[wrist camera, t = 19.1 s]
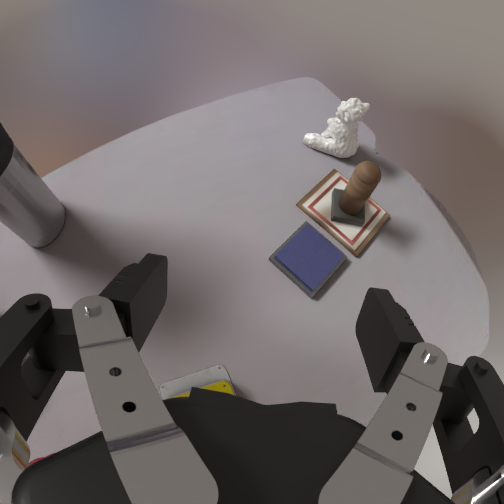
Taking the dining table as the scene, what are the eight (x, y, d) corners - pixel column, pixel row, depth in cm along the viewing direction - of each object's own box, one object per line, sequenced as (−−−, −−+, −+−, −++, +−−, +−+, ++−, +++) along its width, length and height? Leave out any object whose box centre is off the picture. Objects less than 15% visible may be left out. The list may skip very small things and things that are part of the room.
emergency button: (197, 494, 28) (149, 385, 33) (200, 483, 32) (158, 384, 37) (270, 471, 30) (222, 361, 35) (266, 462, 34) (223, 362, 39)
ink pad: (268, 259, 44) (269, 255, 43) (304, 224, 47) (307, 219, 45) (311, 298, 42) (313, 295, 41) (345, 259, 45) (348, 255, 43)
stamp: (330, 220, 46) (354, 177, 36) (331, 193, 48) (353, 147, 38) (361, 226, 46) (391, 186, 36) (361, 199, 48) (388, 156, 37)
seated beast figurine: (331, 121, 56) (347, 73, 44) (366, 148, 53) (389, 102, 42) (299, 142, 53) (312, 91, 42) (337, 172, 51) (358, 124, 40)
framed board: (296, 205, 48) (297, 202, 47) (333, 170, 51) (334, 167, 50) (356, 257, 45) (358, 255, 44) (388, 216, 48) (390, 214, 47)
